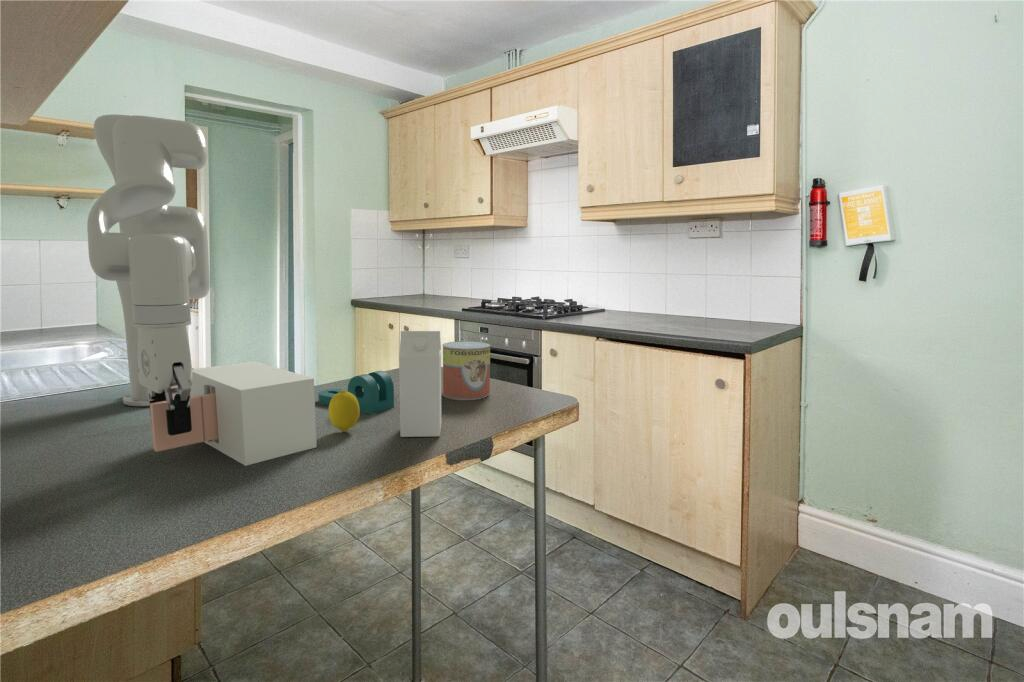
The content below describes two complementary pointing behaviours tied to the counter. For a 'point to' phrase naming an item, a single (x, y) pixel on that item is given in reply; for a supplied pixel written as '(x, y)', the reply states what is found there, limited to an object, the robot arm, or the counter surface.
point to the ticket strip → (200, 420)
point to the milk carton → (420, 383)
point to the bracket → (366, 392)
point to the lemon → (344, 410)
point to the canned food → (466, 370)
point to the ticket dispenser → (259, 410)
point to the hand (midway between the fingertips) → (171, 427)
